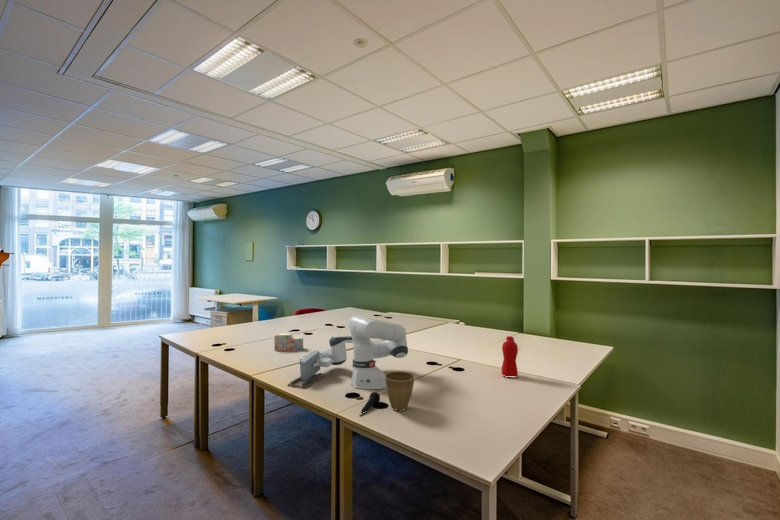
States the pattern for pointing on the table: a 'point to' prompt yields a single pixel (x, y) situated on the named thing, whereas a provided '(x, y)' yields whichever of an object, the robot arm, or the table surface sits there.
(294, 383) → the track board
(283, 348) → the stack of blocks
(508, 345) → the water bottle
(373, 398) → the microphone
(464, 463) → the table surface
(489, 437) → the table surface
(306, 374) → the tall grey rectangular block
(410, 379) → the plant pot
